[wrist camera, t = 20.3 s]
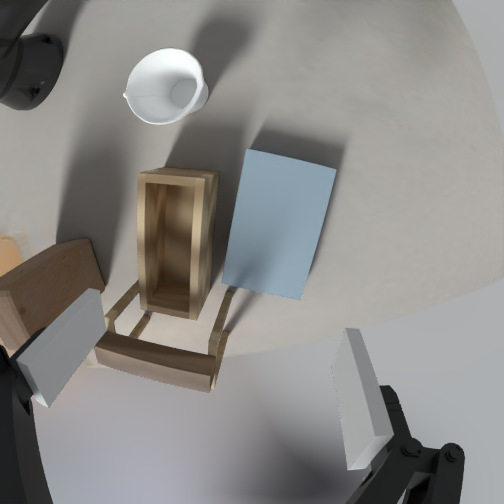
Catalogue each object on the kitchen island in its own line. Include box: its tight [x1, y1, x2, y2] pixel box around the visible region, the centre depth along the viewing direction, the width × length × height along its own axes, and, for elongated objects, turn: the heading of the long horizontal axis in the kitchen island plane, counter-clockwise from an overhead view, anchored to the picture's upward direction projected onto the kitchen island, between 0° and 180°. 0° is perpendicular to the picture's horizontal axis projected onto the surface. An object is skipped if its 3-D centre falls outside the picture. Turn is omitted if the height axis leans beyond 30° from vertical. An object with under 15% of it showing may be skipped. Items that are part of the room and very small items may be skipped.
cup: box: [123, 47, 209, 125], centre depth 30 cm, size 9×9×10 cm
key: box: [94, 331, 216, 393], centre depth 32 cm, size 3×15×4 cm, turn 83°
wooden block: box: [0, 238, 105, 351], centre depth 36 cm, size 10×10×20 cm
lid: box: [221, 149, 336, 300], centre depth 38 cm, size 18×11×4 cm, turn 169°
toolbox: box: [104, 167, 233, 389], centre depth 37 cm, size 26×15×12 cm, turn 173°
